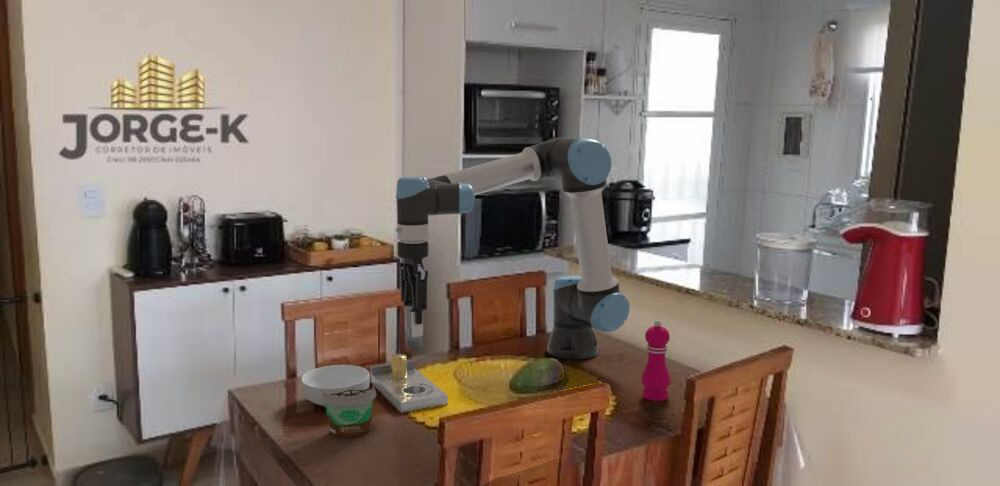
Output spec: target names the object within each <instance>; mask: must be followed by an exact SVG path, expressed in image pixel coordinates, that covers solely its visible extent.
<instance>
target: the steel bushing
mask: <svg viewBox="0 0 1000 486" xmlns="http://www.w3.org/2000/svg"><path fill="white" fill-rule="evenodd" d="M410 309H413V304H409V305H406V306H404V315H405V314H406V332H405V347H407V348H414V349H415V348H420V347H422V346H423V336H420V337H412V320H411V311H410Z"/></svg>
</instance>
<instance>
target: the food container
mask: <svg viewBox="0 0 1000 486" xmlns="http://www.w3.org/2000/svg"><path fill="white" fill-rule="evenodd" d="M376 397H377V391H376V387H375V386H374V385H373V384H372V386H371V387H369V388H368V389H364V390H347V391H343V392H340V393H336V394H327V393H325V392H324V394H323V395H322V401H323V402H324V403H325V406H326V407H325V410H326V416H327V417H326V418H327V425H328V431H329V434H330V435H331V436H333V437H335V438H339V439H357V438H361V437H363V436H365V435H367V434H369V433H370V432H371V430H372V421H373V406H374V404H373V403H374V399H375V398H376Z"/></svg>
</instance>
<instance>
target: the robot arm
mask: <svg viewBox="0 0 1000 486" xmlns="http://www.w3.org/2000/svg"><path fill="white" fill-rule="evenodd" d="M611 170H612V157H611V155H610V152H609V150H608V148H607V147H606V146H605V145H604V144H603V143H601V142H599V141H598V140H595V139H591V138H586V137H567V136H566V137H563V136H562V137H556V138H552V139H549V140H546V141H543V142H539V143H537V144H533V145H530V146H528V147H524V149H523V150H522V152H519V153H517V154H512V155H507V156H506V157H502V158H499V159H494V160H491V161H488V162H484V163H481V164H476V165H474V166H471V167H468V168H463V169H460V170H456V171H452V172H450V173H446V174H443V175H438V176H435V177H432V178H429V177H426V176H425V177H424V176H403V177H400V178H398V179H397V182H396V194H395V195H396V196H395V199H396V215H397V216H396V219H397V220H396V226H397V227H396V228H395V232H396V233H397V240H398V241H397V243H396V245H397V246H396V247H397V250H396V251H397V256H398V257H399V258H400V259H403V262H399V264H398V265H399V271H400V277H399V278H400V300H401V302H403V306H404V307H405V306H406V305H409V304H413V309H410V311H411V320H412V337H420V336H422V337H423V336H424V311H427V309H428V275H429V271H428V270H425V269H424V264H423V259H424V258H427V257H428V256H429V252H430V251H429V242H428V239H429V236H430V235H429V232H430V231H429V230H430V229H429V216H441V215H461V214H469V213H470V212H472V211H473V209H474V207H475V204H476V203H475V202H476V201H475V200H476V197H475V196H477V195H480V194H483V193H484V194H485V193H487V192H490V191H493V190H497V189H500V188H504V187H508V186H511V185H513V184H517V183H520V182H524V181H527V180H530V181H532V182H537V181H541V180H546V179H552V180H553V179H555V180H561V186H562V192H563V193H564V194H565V195H567V196H568V197H569V201H570V208H571V216H572V223H573V230H574V237H575V244H576V251H577V258H578V265H579V271H580V275H579V274H576V275H565V276H560V277H557V278H556V279H555V281H554V282H553V283H554V284H553V289H552V290H553V291H552V292H553V326H552V329H551V332H550V336H549V338H548V341H547V345H546V346H547V354H549V355H550V356H553V357H556V358H559V359H565V360H585V359H586V360H587V359H590V358H594V357H596V356H597V355H598V354H599V343H598V340H597V337H596V334H595V331H598V332H601V333H606V334H607V333H613V332H615V331H617V330H619V329H620V328H621V327H623V326H624V324H625V322H626V321H627V319H628V318H629V314H630V308H631V307H630V302H629V300H628V297H626V296H625V294H624V293H622V292H621V291H620V285H619V280H618V278H616V277H615V276H614V275H613V273H612V265H611V259H610V257H611V256H610V250H609V242H608V235H607V227H606V225H607V224H606V219H605V211H604V205H603V204H604V203H603V196H602V193H603V192H602V191H603V190H604V189H605V188H606V187H607V185H606V184H607V183H606V180H607V178H608V177H609V173H610V172H611ZM404 332H405V333H406V314H405V313H404Z"/></svg>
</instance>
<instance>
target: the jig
mask: <svg viewBox="0 0 1000 486" xmlns="http://www.w3.org/2000/svg"><path fill="white" fill-rule="evenodd" d="M407 357H408V356H407V355H406V354H401V353H400V354H399V353H396V354H392V355H391V358H390V359H391V362H388V363H382V364H381V363H380V364H375V365H370V368H369V369H370V372H369V375H370V384H371V385H372V386H373V385H374V387H375V389H377V390H378V391H379V392H380V394H382V395H383V396H384V398H386V399H387V400H388V401H389V402H390V403H391V404H392V406H394V407H395V408H396V409H397V410H398V412H400V413H401V414H402V413H409V411H410V412H413V411H412V410H415V411H418V410H417V409H420V408H426V407H431V406H436V405H442V406H444V405H443V404H448V402H449V401H448V394H447V393H446V392H445V391H444V390H443V389H441V388H440V387H439V386H438V385H436V384H435V383H433V382H432V381H431V380H430V379H429V378H428V377H426V376H425V375H424V374H422V373H421V372H420V371H419V370H417V369H416V361H415V360H414V359H407ZM431 408H432V407H431ZM426 409H427V408H426ZM420 410H421V409H420Z"/></svg>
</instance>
